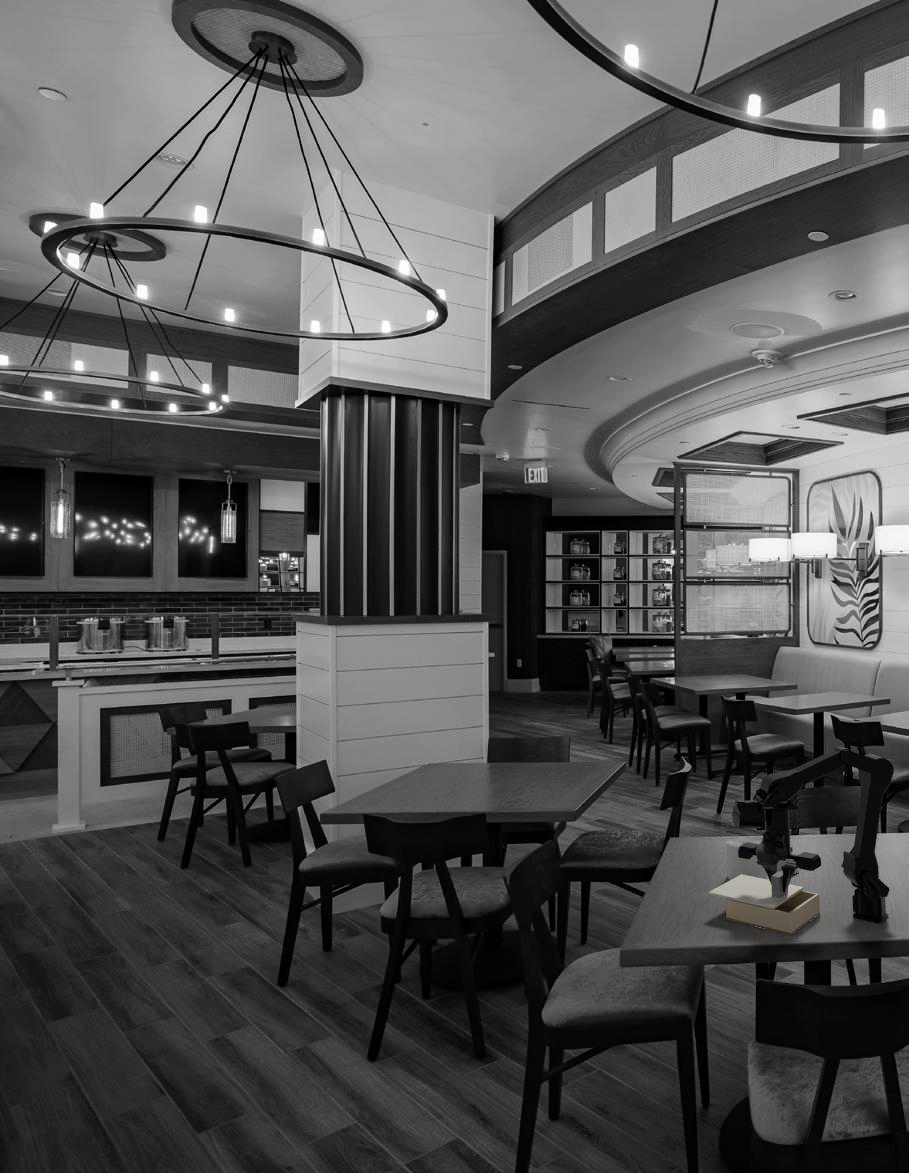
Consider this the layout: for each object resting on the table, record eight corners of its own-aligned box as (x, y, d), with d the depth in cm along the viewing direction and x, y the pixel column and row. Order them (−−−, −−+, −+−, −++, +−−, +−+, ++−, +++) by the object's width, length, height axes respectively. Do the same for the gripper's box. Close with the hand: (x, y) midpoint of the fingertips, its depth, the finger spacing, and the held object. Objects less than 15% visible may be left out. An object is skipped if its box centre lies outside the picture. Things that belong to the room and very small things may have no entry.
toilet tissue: (726, 882, 235) (725, 846, 236) (728, 870, 247) (727, 835, 247) (767, 886, 232) (765, 849, 232) (767, 873, 243) (765, 838, 243)
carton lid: (803, 889, 213) (802, 867, 213) (773, 909, 199) (772, 885, 200) (741, 876, 224) (740, 855, 224) (708, 894, 211) (708, 871, 211)
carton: (819, 914, 210) (819, 894, 210) (791, 935, 197) (790, 914, 197) (757, 900, 221) (756, 881, 221) (726, 919, 208) (725, 899, 208)
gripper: (726, 828, 209) (729, 892, 208) (803, 840, 196) (805, 908, 195) (746, 819, 217) (748, 880, 216) (820, 830, 204) (823, 895, 203)
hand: (779, 891), depth 208 cm, fingers closed on carton lid, 2 cm apart
